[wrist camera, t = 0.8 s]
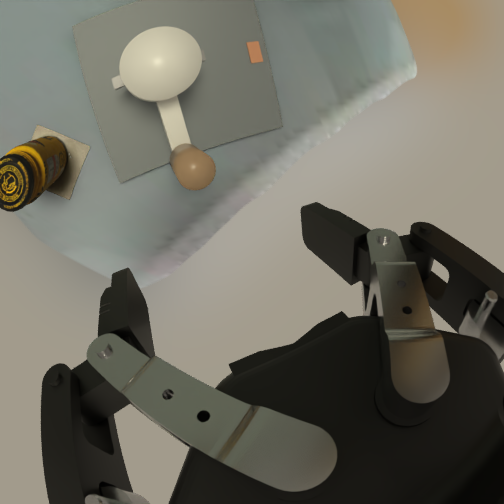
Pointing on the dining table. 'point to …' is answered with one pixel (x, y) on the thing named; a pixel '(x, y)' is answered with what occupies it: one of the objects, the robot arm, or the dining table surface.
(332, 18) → the dining table surface
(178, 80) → the cream maraca
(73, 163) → the condiment
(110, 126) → the board
